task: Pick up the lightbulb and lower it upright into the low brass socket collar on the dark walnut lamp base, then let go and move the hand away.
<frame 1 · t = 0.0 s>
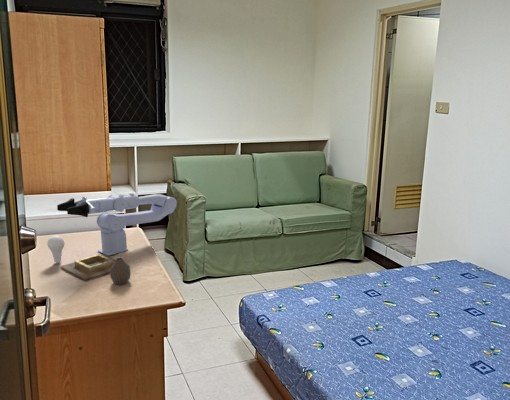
hand: (62, 209, 184), 22 cm above the table, tool horizontal, fingers open, 7 cm apart
socket collar: (94, 263, 186), on the lamp base, point 1 cm above the table
lamp base: (94, 267, 186), on the table
vase: (121, 282, 173), on the table
lightbulb: (58, 263, 191), on the table
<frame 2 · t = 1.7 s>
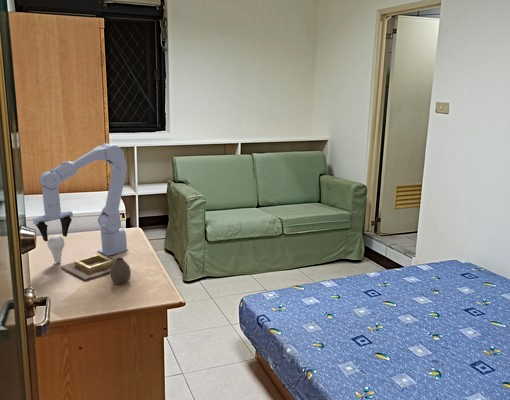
hand: (55, 238, 188), 10 cm above the table, tool pointing down, fingers open, 7 cm apart
nothing on the table moved.
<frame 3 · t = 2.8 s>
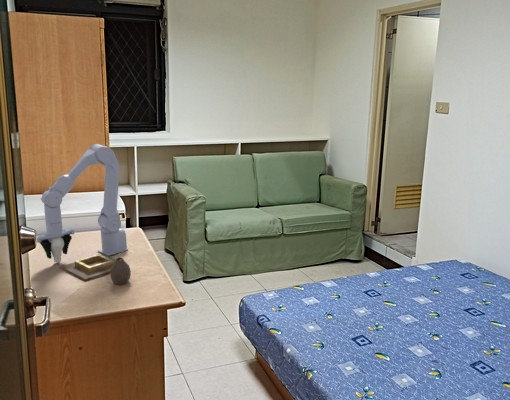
hand: (57, 255, 190), 3 cm above the table, tool pointing down, fingers closed on lightbulb, 6 cm apart
lightbulb: (58, 263, 191), on the table, touching gripper
everything else where it was.
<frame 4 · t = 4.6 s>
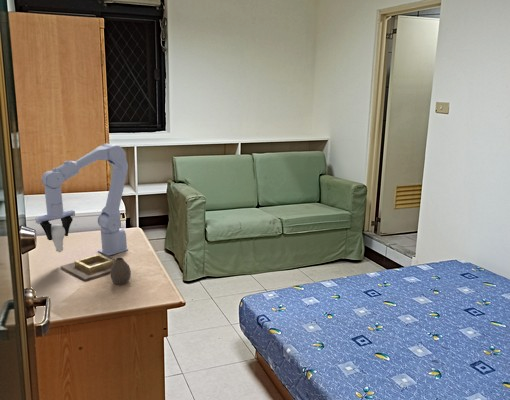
hand: (57, 237, 188), 10 cm above the table, tool pointing down, fingers closed on lightbulb, 6 cm apart
lightbulb: (60, 252, 189), point 4 cm above the table, touching gripper
everything else where it was.
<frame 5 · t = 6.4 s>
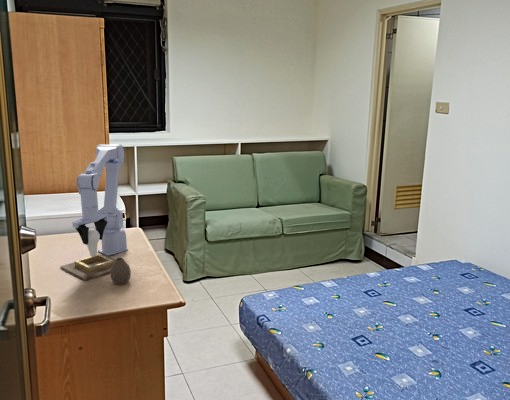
hand: (92, 241, 184), 10 cm above the table, tool pointing down, fingers closed on lightbulb, 6 cm apart
lightbulb: (94, 257, 185), point 4 cm above the table, touching gripper
everything else where it was.
when the fingers open (5 cm above the table, at t = 9.0 s): lightbulb stays where it is, resting on lamp base.
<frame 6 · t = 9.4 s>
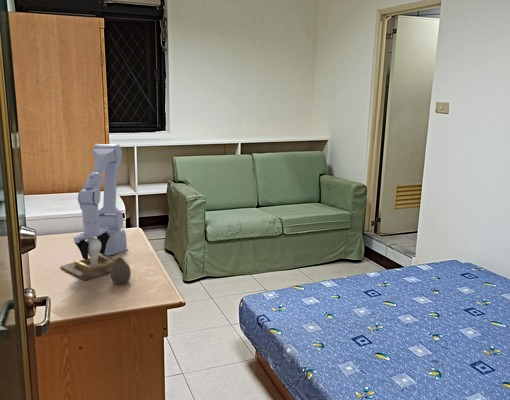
hand: (93, 255, 185), 5 cm above the table, tool pointing down, fingers open, 7 cm apart
lightbulb: (94, 266, 186), point 1 cm above the table, touching lamp base
everything else where it was.
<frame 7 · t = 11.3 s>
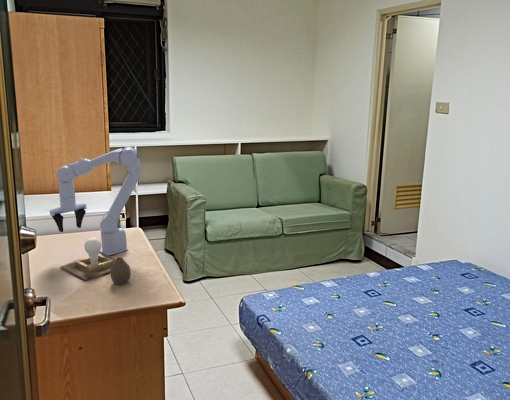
hand: (70, 229, 198), 10 cm above the table, tool pointing down, fingers open, 7 cm apart
nothing on the table moved.
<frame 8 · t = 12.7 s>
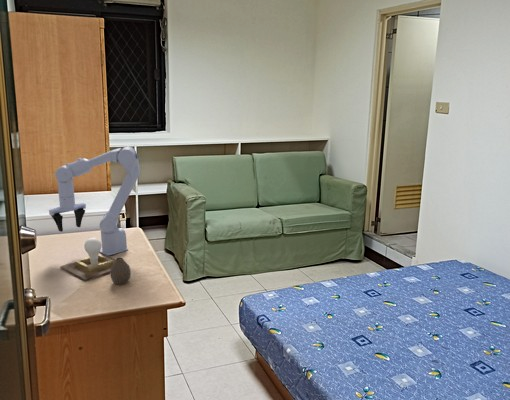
hand: (69, 228, 199), 10 cm above the table, tool pointing down, fingers open, 7 cm apart
nothing on the table moved.
at the end: lightbulb 0.1 cm off-centre on the socket collar, point 0.6 cm above the socket collar's base; lightbulb tilted 0°; the gripper is holding nothing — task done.
